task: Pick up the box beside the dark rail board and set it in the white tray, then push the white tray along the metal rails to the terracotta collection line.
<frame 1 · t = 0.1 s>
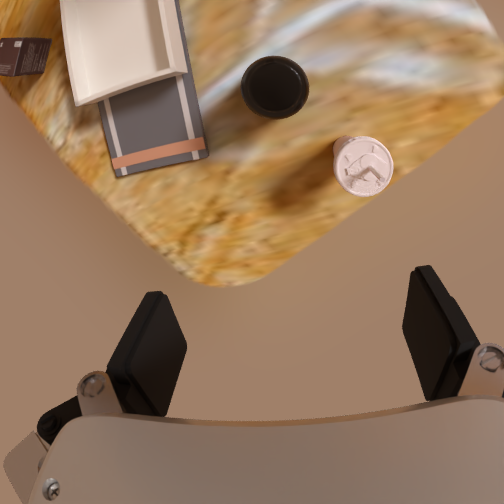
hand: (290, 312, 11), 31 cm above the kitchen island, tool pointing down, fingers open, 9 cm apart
white tray: (118, 19, 27), point 4 cm above the kitchen island, slide at 0.0 cm
box: (37, 55, 32), on the kitchen island
supplement bottle: (275, 88, 35), on the kitchen island
rail board: (137, 54, 33), on the kitchen island
smoothie: (346, 149, 38), on the kitchen island
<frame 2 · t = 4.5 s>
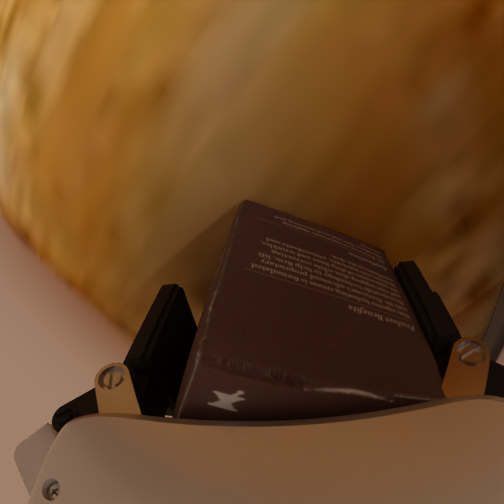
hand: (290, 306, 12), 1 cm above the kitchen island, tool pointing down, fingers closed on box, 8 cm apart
box: (290, 280, 13), on the kitchen island, touching gripper
when the fingers open (6 cm above the kitchen island, at t = 10.5 s): box drops 1 cm, resting on white tray.
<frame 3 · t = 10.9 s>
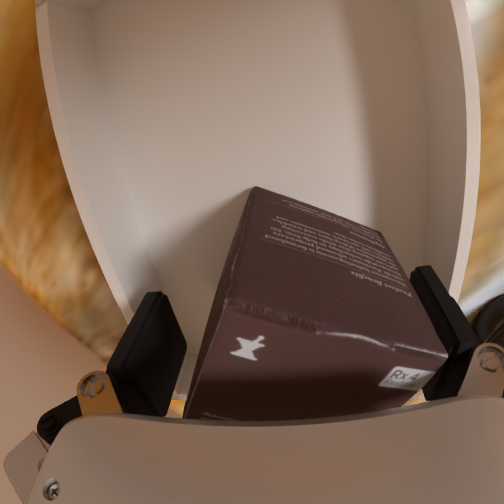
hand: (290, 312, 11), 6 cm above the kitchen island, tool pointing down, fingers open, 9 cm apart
white tray: (278, 186, 12), point 4 cm above the kitchen island, slide at 0.0 cm, touching box
box: (296, 262, 14), point 3 cm above the kitchen island, touching white tray
supplement bottle: (495, 320, 19), on the kitchen island
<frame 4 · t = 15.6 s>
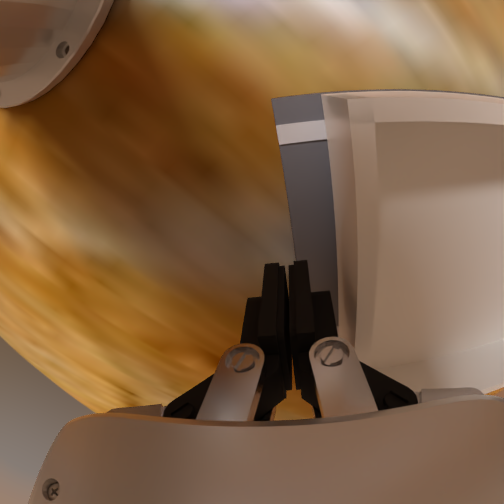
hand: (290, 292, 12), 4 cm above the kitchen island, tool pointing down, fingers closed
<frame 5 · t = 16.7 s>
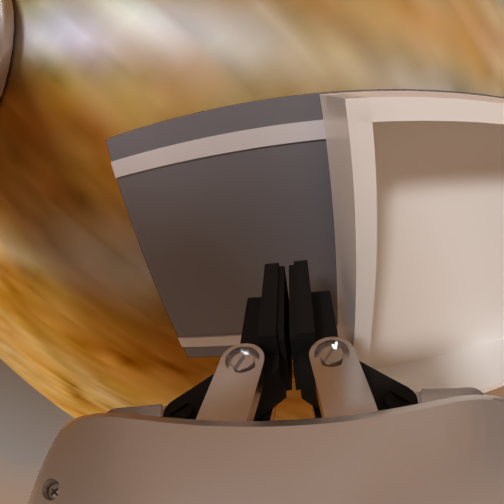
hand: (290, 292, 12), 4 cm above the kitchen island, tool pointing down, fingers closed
rail board: (453, 223, 14), on the kitchen island
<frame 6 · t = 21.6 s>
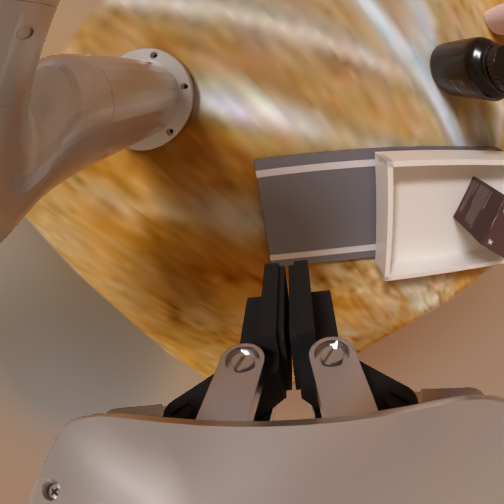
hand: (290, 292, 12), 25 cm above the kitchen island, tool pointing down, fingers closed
white tray: (454, 210, 31), point 4 cm above the kitchen island, slide at 12.0 cm, touching box
box: (476, 204, 31), point 3 cm above the kitchen island, touching white tray
supplement bottle: (450, 68, 26), on the kitchen island
rail board: (394, 202, 35), on the kitchen island
smoothie: (493, 22, 21), on the kitchen island
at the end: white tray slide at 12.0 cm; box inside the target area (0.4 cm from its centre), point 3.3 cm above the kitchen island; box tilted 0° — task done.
